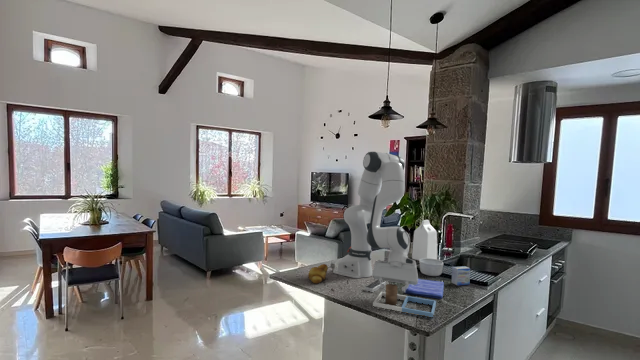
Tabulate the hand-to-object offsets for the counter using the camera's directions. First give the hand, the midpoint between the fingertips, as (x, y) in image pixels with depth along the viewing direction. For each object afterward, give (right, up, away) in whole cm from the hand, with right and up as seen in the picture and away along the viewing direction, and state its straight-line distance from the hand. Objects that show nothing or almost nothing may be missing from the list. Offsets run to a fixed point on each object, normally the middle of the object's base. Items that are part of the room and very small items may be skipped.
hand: (392, 290), depth 148 cm
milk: (+38, -4, +76) cm, 85 cm away
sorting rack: (+5, -6, -2) cm, 8 cm away
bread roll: (-34, -5, +29) cm, 45 cm away
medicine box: (+42, -6, +28) cm, 51 cm away
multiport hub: (-4, -6, +20) cm, 21 cm away
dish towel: (+21, -7, +20) cm, 30 cm away
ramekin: (+32, -5, +46) cm, 56 cm away
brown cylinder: (-1, -6, 0) cm, 6 cm away
